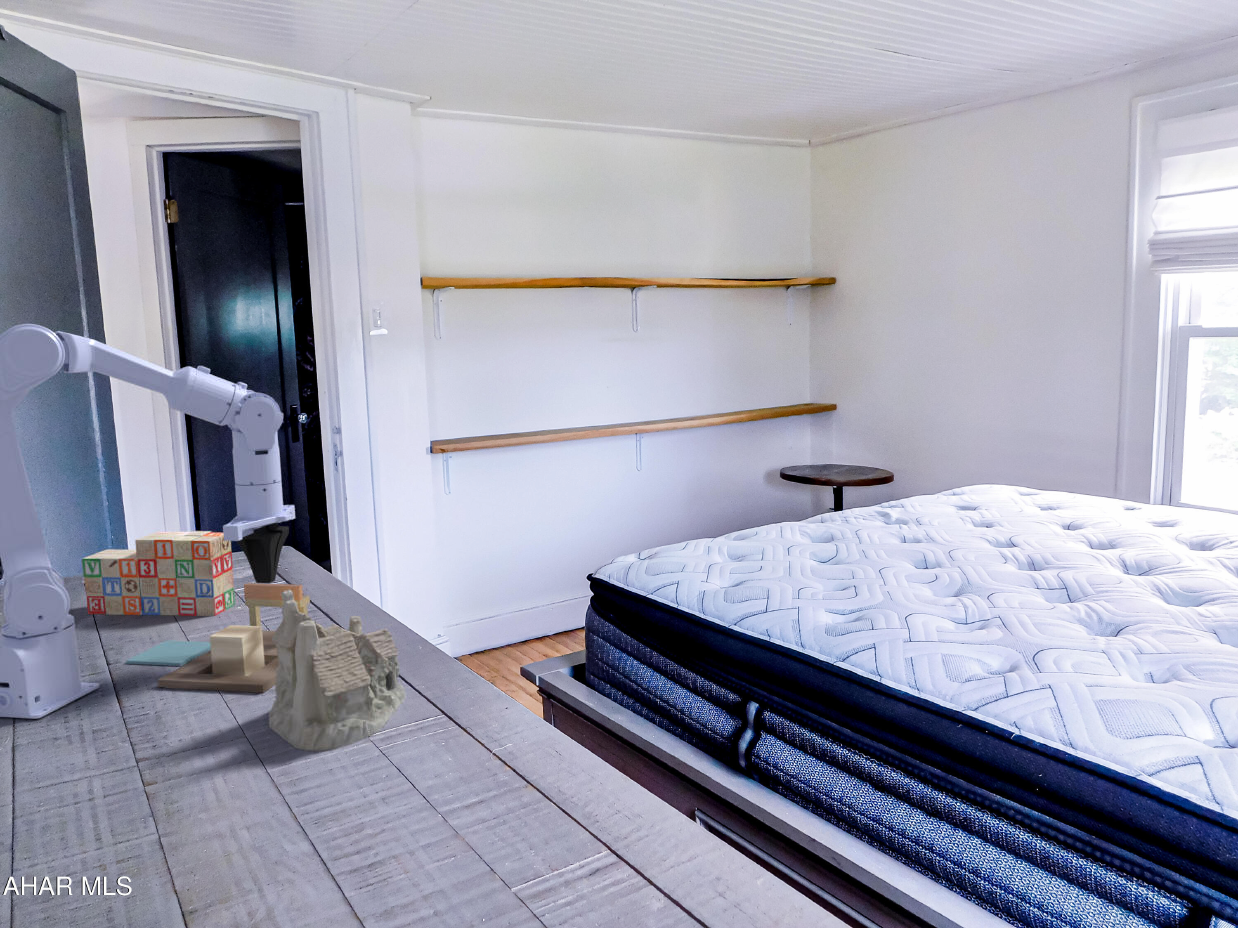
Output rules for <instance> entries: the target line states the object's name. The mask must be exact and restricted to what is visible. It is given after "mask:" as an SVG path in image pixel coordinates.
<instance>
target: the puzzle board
mask: <svg viewBox="0 0 1238 928" xmlns="http://www.w3.org/2000/svg"><path fill="white" fill-rule="evenodd" d="M275 631H276V630H266V629H265V630H263V629H262V636H263V650H264V663H265V666H263V667H262V668H260V669H259V670H257V671H256V672H254V673H252V674H251V675H249V676H234V675H213V670H212V658H211V650H209V651H207V652H205V653H204V654H202V655H200V656H198V657H196V658H195V659H193V660H191V661H189V662H187V663H186V664H184V665H182V666H179V667H178V668H176V669H174V670H172V671H171V672H169V673H167V674H165V675H164V676H162V677H160V678H158V679H157V687H158V688H159V687H167V688H166V689H178V690H179V689H180V688H181V689H182V690H197V689H200V690H201V689H202V691H220V692H221V691H222V692H236V693H237V692H238V693H240V692H241V693H255V694H256V693H259V694H264V693H265V692H267V691H268V690H269V689H271V688H273V687H275V684H276V676H277V673H276V669H277V668H278V665H279V661H278V655H277V647H276V645H275V644H274V643H273V641H272V639H273V635H274V633H275ZM181 689H180V690H181Z"/></svg>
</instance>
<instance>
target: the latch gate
mask: <svg viewBox="0 0 1238 928" xmlns="http://www.w3.org/2000/svg"><path fill="white" fill-rule="evenodd" d="M287 590H291V591H292V593H293V596H294V601H295V602H297V606H298V611H299V612H300V613H304V614H306V615H308V616H309V613H308V611H309V610H308V604H310V603H311V600H310V599H311V598H310V597H311V596H310V595H305V594H303V593H304V592H303V584H285V583H284V584H283V583H256V582H255V583H252V582H250V583H249V582H246V583H244V584H243V592H244V594H243V595H244V604H245V605H244V606H245V607H248V615H249V616H248V617H249V626H261V625H262V624H261V623H262V622H261V610H260V609H261V608H260V607H264V608H265V607H266V608H282V606H283V603H284V601H283V599H282V595H281V593H283V592H284V591H287Z"/></svg>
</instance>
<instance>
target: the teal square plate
mask: <svg viewBox="0 0 1238 928" xmlns="http://www.w3.org/2000/svg"><path fill="white" fill-rule="evenodd" d="M210 650H211V646H210V641H191V640H190V641H188V640H187V641H185V640H165V641H163V642H160V643H158V644H156V645H155V646H152V647H151V648H149V649H146V650H145V651H143V652H141V653H138V654H136V655H134V656H132V657H131V658H129V659H127V660H125V663H126V664H130V665H131V664H132V665H148V666H149V665H150V664H151V665H153V666H168V667H169V666H171V667H181V666H183V665H185V664H187V663H189V662H190V661H192V660H194V659H196V658H198V657H199V656H201V655H203V654H205V653H207V652H208V651H210ZM151 665H150V666H151Z"/></svg>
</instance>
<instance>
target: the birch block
mask: <svg viewBox="0 0 1238 928" xmlns="http://www.w3.org/2000/svg"><path fill="white" fill-rule="evenodd" d="M262 630H263V626H250V625H239V624H238V625H235V624H230V625H228V626H226V627H224V628H223V629H220V630H218V631H217V632H215V633H213V634H211V635H209V642H210V646H211V658H212V670H213V671H212V674H213V675H234V676H249V675H251V674H252V673H254V672H256V671H257V670H259V669H260V668H262V667H263V666H265V665H266V662H264V650H263V636H262Z"/></svg>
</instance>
